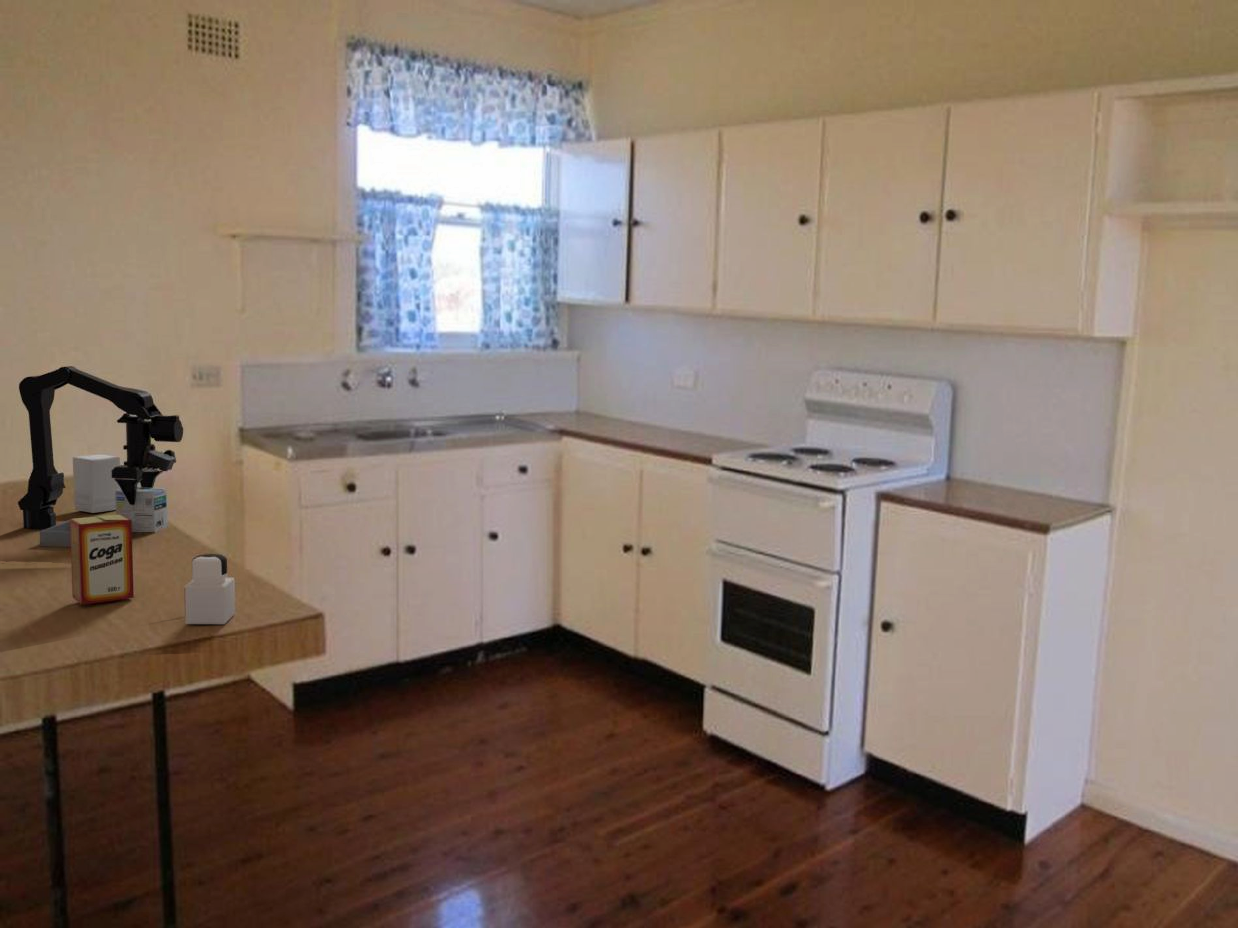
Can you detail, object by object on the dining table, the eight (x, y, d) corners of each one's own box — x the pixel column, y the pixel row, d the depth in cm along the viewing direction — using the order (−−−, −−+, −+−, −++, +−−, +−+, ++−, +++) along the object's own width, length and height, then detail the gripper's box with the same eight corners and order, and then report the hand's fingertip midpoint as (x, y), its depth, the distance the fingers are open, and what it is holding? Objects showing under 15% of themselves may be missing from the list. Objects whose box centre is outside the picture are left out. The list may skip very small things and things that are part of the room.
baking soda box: (81, 604, 206) (78, 522, 204) (72, 597, 211) (69, 517, 209) (133, 597, 212) (131, 517, 210) (123, 590, 217) (121, 512, 215)
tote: (40, 546, 254) (39, 531, 254) (71, 533, 269) (71, 519, 269) (105, 547, 254) (104, 533, 254) (133, 534, 270) (132, 521, 269)
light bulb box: (169, 528, 279) (168, 487, 277) (155, 533, 272) (154, 491, 271) (129, 526, 280) (128, 485, 278) (115, 531, 273) (113, 489, 272)
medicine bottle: (196, 613, 203) (195, 551, 201) (235, 614, 203) (234, 551, 202) (184, 624, 196) (183, 559, 194) (225, 624, 196) (223, 560, 195)
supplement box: (122, 509, 303) (121, 456, 301) (92, 513, 295) (90, 459, 293) (103, 505, 307) (102, 453, 305) (73, 509, 300) (71, 456, 298)
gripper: (155, 446, 264) (156, 509, 266) (185, 437, 282) (186, 496, 284) (109, 444, 264) (111, 507, 266) (142, 436, 282) (143, 495, 284)
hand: (140, 501), depth 275 cm, fingers open, 9 cm apart
